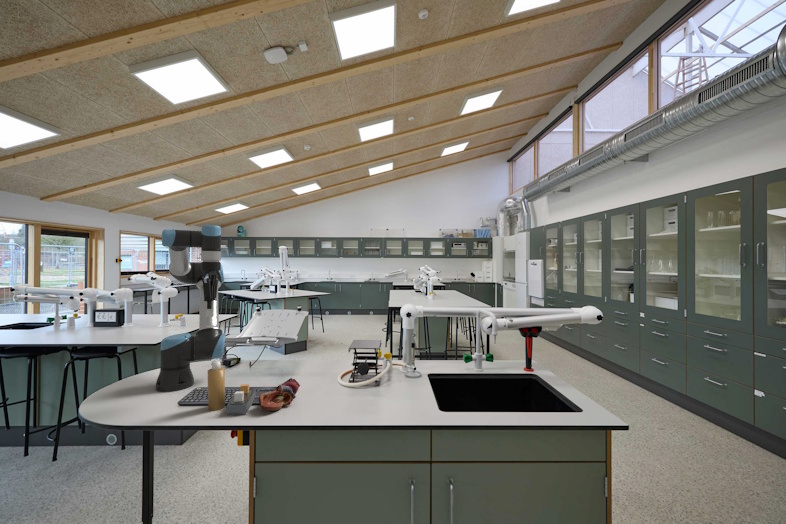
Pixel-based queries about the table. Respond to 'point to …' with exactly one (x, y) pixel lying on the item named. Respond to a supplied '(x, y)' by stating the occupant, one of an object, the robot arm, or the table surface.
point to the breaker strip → (241, 404)
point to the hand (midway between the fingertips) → (210, 316)
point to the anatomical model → (279, 396)
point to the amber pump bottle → (216, 387)
